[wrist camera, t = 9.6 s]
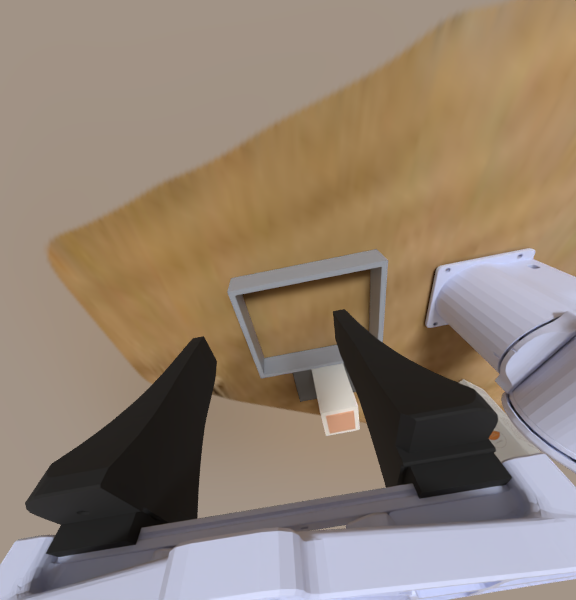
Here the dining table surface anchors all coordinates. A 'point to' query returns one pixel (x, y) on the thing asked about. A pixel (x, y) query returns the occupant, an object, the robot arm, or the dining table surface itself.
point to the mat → (310, 384)
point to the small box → (504, 432)
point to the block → (335, 399)
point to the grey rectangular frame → (303, 274)
